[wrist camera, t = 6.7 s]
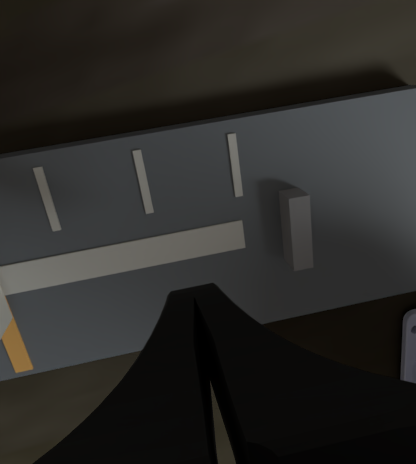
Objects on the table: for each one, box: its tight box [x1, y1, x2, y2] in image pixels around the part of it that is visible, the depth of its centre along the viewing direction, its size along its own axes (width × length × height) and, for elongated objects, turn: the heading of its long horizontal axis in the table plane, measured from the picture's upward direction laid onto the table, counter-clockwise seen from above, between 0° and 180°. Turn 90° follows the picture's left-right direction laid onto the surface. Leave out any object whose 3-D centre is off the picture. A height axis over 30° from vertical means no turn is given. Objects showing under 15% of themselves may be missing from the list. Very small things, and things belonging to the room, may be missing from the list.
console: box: [0, 85, 416, 381], centre depth 16 cm, size 9×22×3 cm, turn 98°
